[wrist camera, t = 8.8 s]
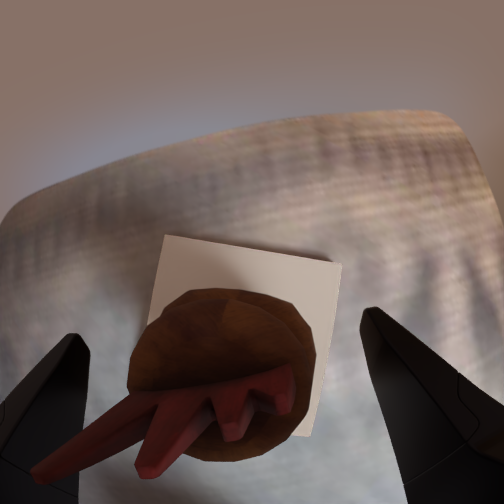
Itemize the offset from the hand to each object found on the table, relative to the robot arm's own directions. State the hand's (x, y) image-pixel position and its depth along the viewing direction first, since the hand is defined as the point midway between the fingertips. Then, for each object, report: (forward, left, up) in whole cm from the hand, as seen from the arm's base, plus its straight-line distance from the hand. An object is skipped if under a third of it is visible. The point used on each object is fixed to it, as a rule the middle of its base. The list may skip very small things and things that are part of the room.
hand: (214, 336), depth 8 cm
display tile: (-1, 0, -10) cm, 10 cm away
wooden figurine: (-1, 0, -9) cm, 9 cm away
